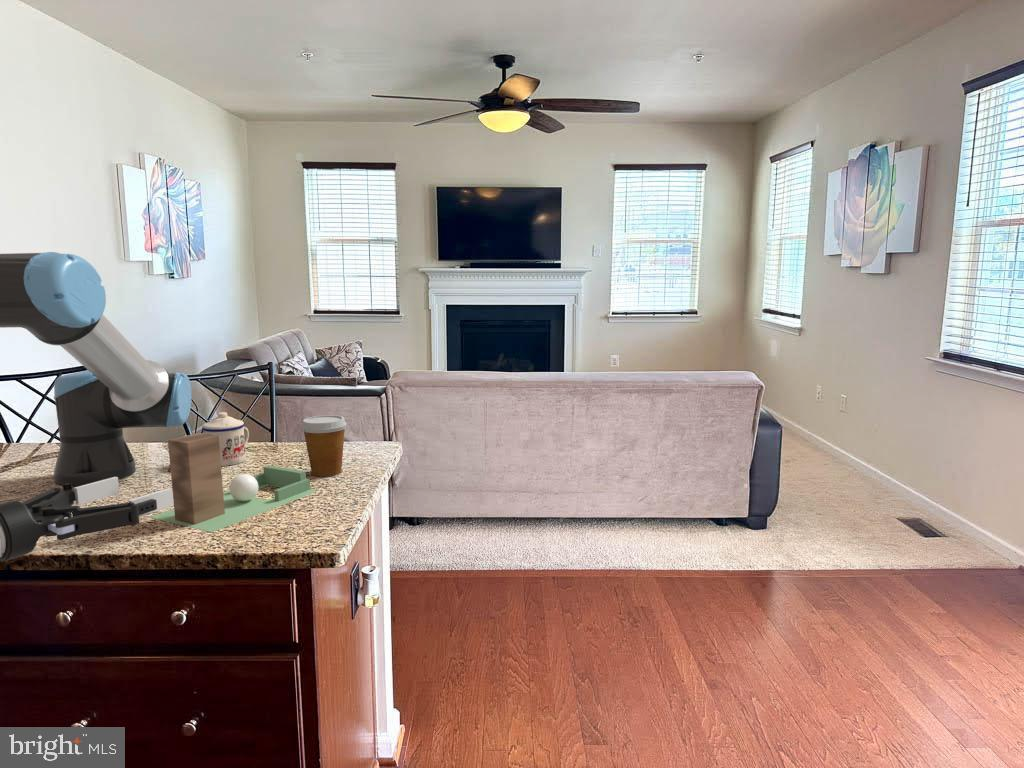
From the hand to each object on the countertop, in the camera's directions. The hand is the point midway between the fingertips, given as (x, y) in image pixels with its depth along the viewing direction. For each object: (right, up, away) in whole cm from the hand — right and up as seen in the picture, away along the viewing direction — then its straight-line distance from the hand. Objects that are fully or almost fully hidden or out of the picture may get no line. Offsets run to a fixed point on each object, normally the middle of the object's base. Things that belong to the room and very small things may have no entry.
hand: (143, 490), depth 108 cm
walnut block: (+5, -6, +10) cm, 12 cm away
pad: (+8, -6, +17) cm, 20 cm away
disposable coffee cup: (+18, -3, +41) cm, 45 cm away
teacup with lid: (-8, -1, +52) cm, 53 cm away
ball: (+9, -2, +17) cm, 20 cm away
